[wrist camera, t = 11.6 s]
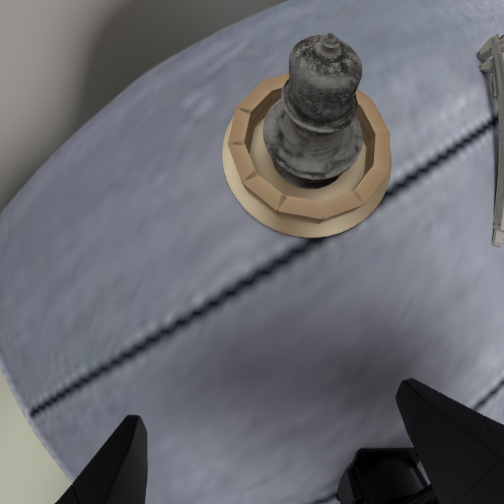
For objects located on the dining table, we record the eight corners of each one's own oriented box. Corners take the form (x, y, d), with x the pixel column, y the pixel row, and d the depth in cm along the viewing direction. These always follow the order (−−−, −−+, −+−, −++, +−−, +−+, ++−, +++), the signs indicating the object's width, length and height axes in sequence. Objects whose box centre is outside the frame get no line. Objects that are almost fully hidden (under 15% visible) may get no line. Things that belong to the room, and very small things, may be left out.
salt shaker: (306, 211, 19) (335, 141, 8) (249, 148, 20) (207, 32, 8) (368, 158, 19) (442, 58, 7) (310, 101, 20) (324, -27, 8)
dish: (389, 103, 20) (403, 82, 16) (377, 252, 20) (394, 250, 16) (242, 78, 21) (235, 53, 18) (210, 222, 21) (196, 215, 18)
